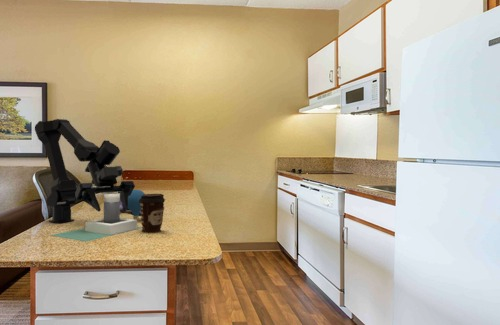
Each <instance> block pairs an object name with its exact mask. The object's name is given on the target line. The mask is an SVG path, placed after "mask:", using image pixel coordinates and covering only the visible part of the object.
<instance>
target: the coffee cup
mask: <svg viewBox="0 0 500 325" xmlns="http://www.w3.org/2000/svg"><path fill="white" fill-rule="evenodd" d="M165 201H166V199H165V198H164V194H162V193H145V194H144V195H142V196H141V199H139V203H140V206H141V214H140V218H141V219H140V221H141V225H142V226H141V227H142V228H141V232H142V233H147V234H151V233H152V234H153V233H154V234H155V233H160V232H161V231H162V230H161V228H162V224H163V220H164V219H163V218H164V211H165V206H164V205H165V204H164V203H165Z"/></svg>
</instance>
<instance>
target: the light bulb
mask: <svg viewBox="0 0 500 325" xmlns="http://www.w3.org/2000/svg"><path fill="white" fill-rule="evenodd" d="M144 194H146V193H145V192H144V191H142V190H141V189H133V191H132V193H131V195H130V196H128V209H129V210H131V211H132V213H131V214H132V216H133V220H137V221H138V220H139V216H140V214H139V213H140V211H141V206H140V203H139V199H141V196H142V195H144ZM131 211H130V212H131Z"/></svg>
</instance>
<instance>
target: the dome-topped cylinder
mask: <svg viewBox="0 0 500 325" xmlns="http://www.w3.org/2000/svg"><path fill="white" fill-rule="evenodd" d="M120 212H121V211H120V193H118V192H111V193H103V218H104V223H109V224H113V223H118V222H120V218H121V217H120V215H121V214H120Z"/></svg>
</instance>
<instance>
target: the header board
mask: <svg viewBox="0 0 500 325" xmlns="http://www.w3.org/2000/svg"><path fill="white" fill-rule="evenodd" d="M84 226H85V227H84V228H83V227H82V228H78V229H74V230H68V231H64V232H59V233H53V234H50V235H49V236H50V237H51V236H52V237H56V238H60V239H61V238H62V239H68V240H73V241H74V240H75V241H79V242H85V243H87V242H90V241H91V242H92V241H94V240H98V239H99V240H100V239H103V238H106V237H111V236H115V235H118V234H123V233H127V232H128V233H129V232H131V231H135V230H139V229H142V226H138V220H134V218H133V219H130V218H124V217H120V222H118V223H113V224H109V223H104V217H103V218H99V219H94V220H88V221H85V224H84Z"/></svg>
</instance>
